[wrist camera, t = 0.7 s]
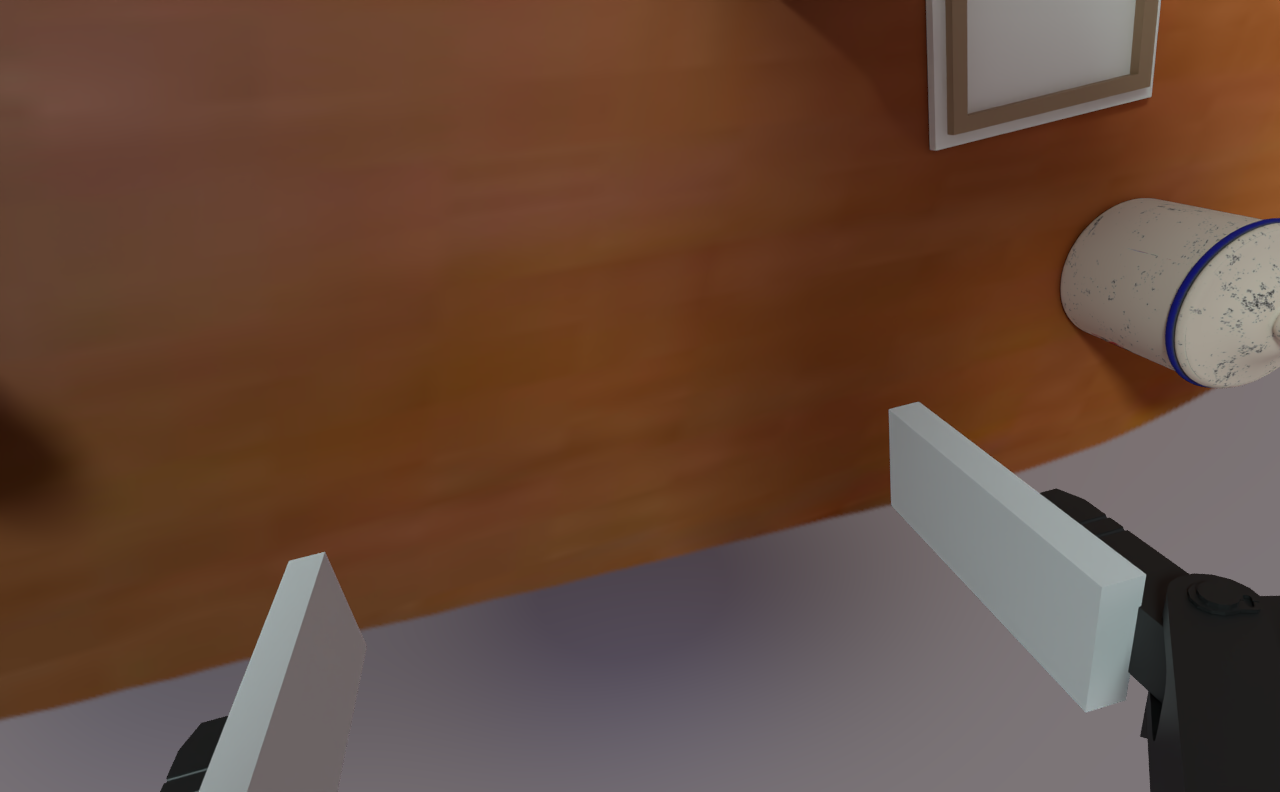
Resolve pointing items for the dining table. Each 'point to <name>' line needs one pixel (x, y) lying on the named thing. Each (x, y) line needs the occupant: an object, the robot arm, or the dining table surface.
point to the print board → (1033, 62)
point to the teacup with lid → (1180, 289)
